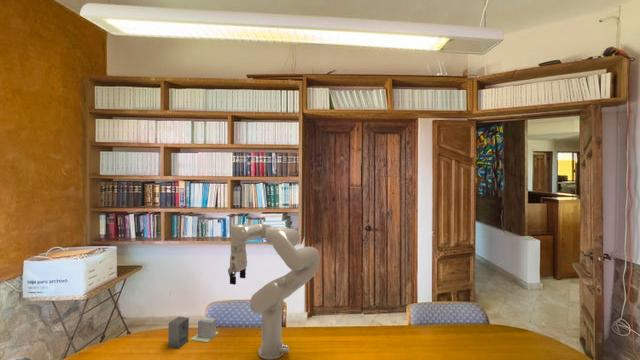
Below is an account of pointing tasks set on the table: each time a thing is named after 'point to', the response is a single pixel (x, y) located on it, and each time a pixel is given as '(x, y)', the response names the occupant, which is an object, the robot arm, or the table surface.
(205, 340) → the pad
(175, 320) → the block
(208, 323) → the medicine box
